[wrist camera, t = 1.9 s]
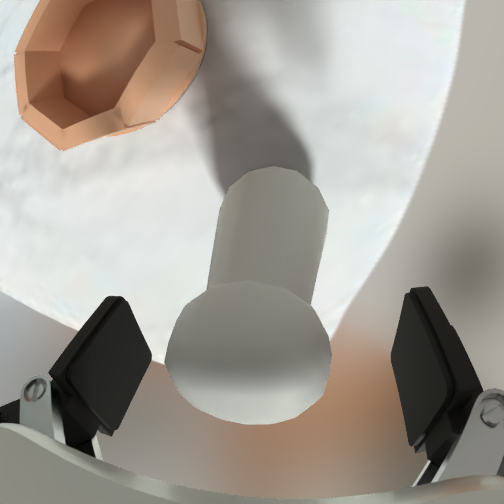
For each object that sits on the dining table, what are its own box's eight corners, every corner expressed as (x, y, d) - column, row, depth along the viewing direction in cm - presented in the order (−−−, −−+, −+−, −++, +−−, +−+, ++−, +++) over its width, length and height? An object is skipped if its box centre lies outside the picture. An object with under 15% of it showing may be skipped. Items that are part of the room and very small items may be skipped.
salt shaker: (283, 138, 15) (257, 248, 4) (342, 212, 17) (402, 407, 6) (210, 198, 18) (93, 363, 6) (269, 262, 19) (236, 453, 8)
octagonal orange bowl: (52, 17, 11) (13, 14, 8) (196, -50, 9) (172, -79, 6) (68, 153, 17) (28, 169, 13) (220, 111, 15) (197, 115, 11)
